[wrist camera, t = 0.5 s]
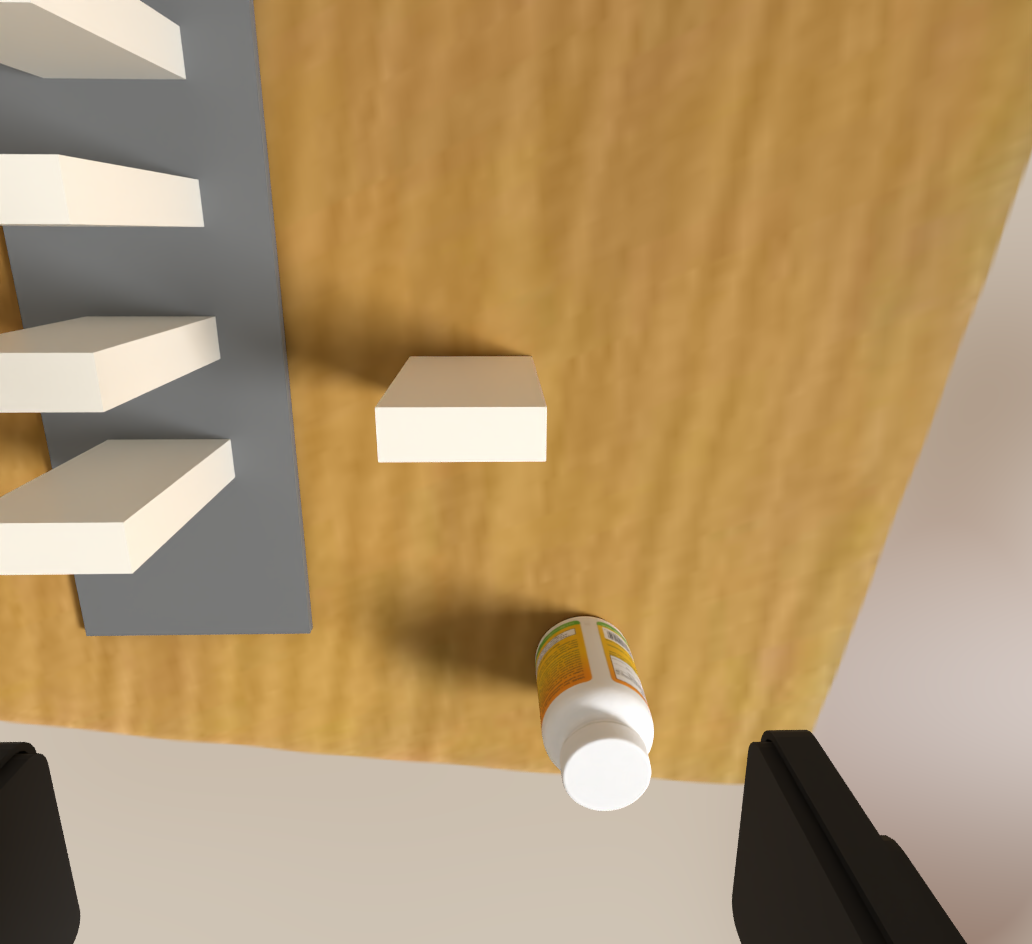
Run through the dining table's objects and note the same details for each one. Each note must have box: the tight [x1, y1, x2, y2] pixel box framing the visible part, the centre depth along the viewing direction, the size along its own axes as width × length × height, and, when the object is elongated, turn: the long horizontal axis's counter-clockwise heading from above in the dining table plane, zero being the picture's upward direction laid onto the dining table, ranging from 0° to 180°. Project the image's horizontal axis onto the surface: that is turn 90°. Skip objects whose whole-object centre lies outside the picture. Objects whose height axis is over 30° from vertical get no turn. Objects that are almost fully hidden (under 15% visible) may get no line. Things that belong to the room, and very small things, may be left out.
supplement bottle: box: [535, 616, 654, 811], centre depth 37 cm, size 5×5×10 cm
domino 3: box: [0, 316, 220, 413], centre depth 29 cm, size 2×6×11 cm, turn 90°
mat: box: [0, 0, 313, 636], centre depth 35 cm, size 32×12×1 cm, turn 0°
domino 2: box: [0, 154, 204, 227], centre depth 28 cm, size 2×6×11 cm, turn 90°
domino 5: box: [375, 356, 547, 462], centre depth 31 cm, size 2×6×11 cm, turn 90°
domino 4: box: [0, 439, 235, 575], centre depth 31 cm, size 2×6×11 cm, turn 90°
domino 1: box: [0, 0, 186, 79], centre depth 26 cm, size 2×6×11 cm, turn 90°
